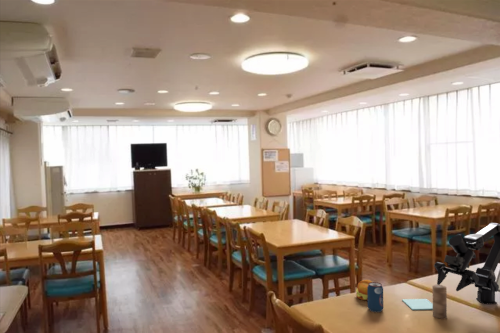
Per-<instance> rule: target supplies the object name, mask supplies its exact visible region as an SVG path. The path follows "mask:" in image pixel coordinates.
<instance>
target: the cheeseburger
mask: <svg viewBox="0 0 500 333" xmlns="http://www.w3.org/2000/svg"><path fill="white" fill-rule="evenodd" d="M370 282H373V281H372V280H370V279H363V280H361V281H359V282H358V284H357V288H356V290H355V291H356V295H355V296H356V297H357V299H359V300H360V301H361V300H362V301H367V302H368V296H367V287H368V285H369V283H370Z"/></svg>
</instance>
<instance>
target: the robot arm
mask: <svg viewBox="0 0 500 333" xmlns="http://www.w3.org/2000/svg"><path fill="white" fill-rule="evenodd" d="M492 237H493V241H494V242H493V244H492V247H491V249H490V251H489V253H488V255H487V257H486V260H485V262H484V265H483V266H481V267H477V268H476V270H474V271H473V270H471V269H469V268H470V265H469V264H470V262H471V261H472V259H476V258H477V256H476V253H475V251H480V250H481V249H482V248H483V247H484V246H485V242H486V241H488V240H489V239H490V238H492ZM448 244H449V246H450V247H451V248H452V249H453V251H454V252H455V253H456V256H452V255H447V254H445V257H444V260H443V262H439V261H436V262H435V263H434V265H433V267H434V268H435V269H436V271H437V280H436V285H442V283H443V281H444V280H445V279H446V278H447V275H448V274H449V273H451V274H454V275H458V276H461V279H460V281H459V283H458V284H457V286H456V287H455V288H456V289H455V291H456V292H459V291H461V290H462V289H465V288H466V287H468V286H470V285H474V287H475V288H477V292H476V294H477V295H476V296H477V297H476V300H477V301H478V300H479V302H480V303H482V304H483V303H484V304H483V305H489V303H497V304H498V302H497V301H496V292H498V291H499V288H500V287H499V284H498V283H497V282H496V280H497V278H496V274H495V272H496V271H497V270H496V269H497V267H498V264H500V223H497V222H490V223H489V224H488V225H487V226H485V227H483V228H482V229H480V230H478V231H477V232H476V233H472V234H467V235H464V236H463V235H462V234H459V233H458V234H456V235H455V236H452V237H451V238H450V239H449V240H448ZM445 263H447V265H446V264H445ZM447 266H448V267H447ZM487 303H488V304H487Z"/></svg>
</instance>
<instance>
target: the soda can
mask: <svg viewBox="0 0 500 333" xmlns="http://www.w3.org/2000/svg"><path fill="white" fill-rule="evenodd" d="M382 285H383V283H380V282H377V281H372V282H370V283H369V285H368V287H367V296H368V301H367V308H368V310H369V312H372V313H381V312H382V311H383V310H384V287H383V286H382Z"/></svg>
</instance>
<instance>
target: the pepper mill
mask: <svg viewBox="0 0 500 333" xmlns="http://www.w3.org/2000/svg"><path fill="white" fill-rule="evenodd" d="M447 296H448V295H447V286H445V285H442V284H440V285H437V284H433V285H432V303H433V310H432V317H434V318H436V319H441V320H442V319H443V320H444V319H447V317H448V316H447V315H448V314H447V313H448V312H447V311H448V310H447V307H448V306H447V299H448V298H447Z"/></svg>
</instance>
